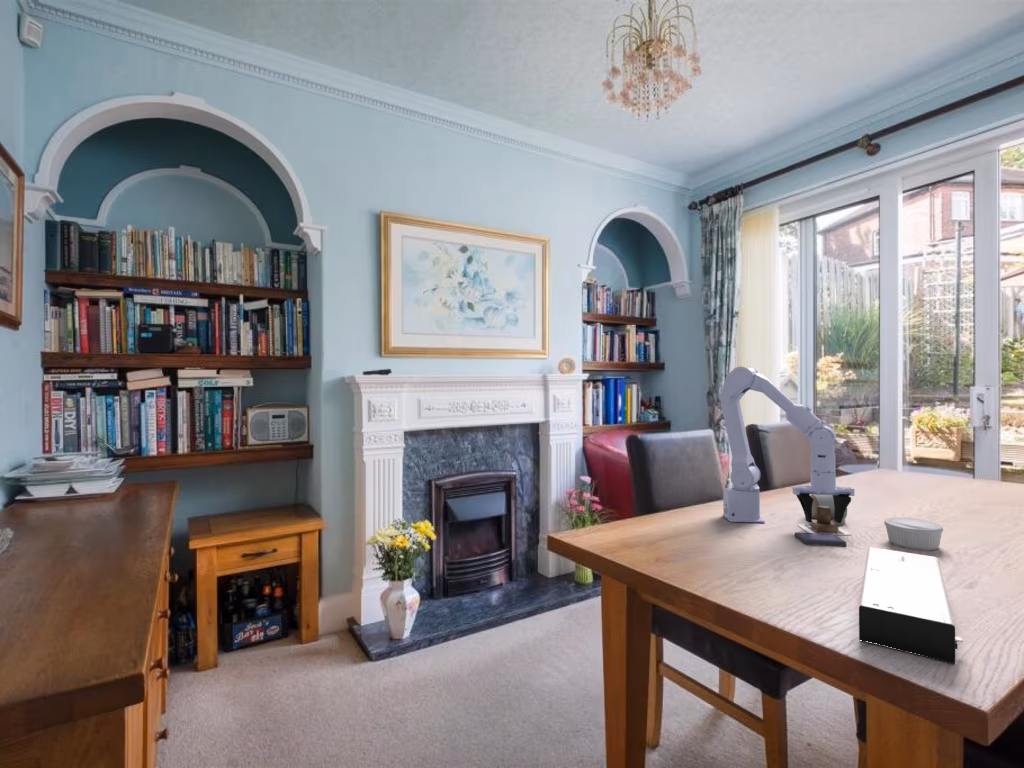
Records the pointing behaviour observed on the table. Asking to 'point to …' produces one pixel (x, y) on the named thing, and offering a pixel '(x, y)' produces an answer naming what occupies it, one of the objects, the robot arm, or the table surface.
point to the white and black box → (906, 604)
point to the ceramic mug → (825, 501)
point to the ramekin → (914, 533)
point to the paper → (811, 530)
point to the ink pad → (820, 539)
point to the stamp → (824, 520)
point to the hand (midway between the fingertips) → (823, 521)
